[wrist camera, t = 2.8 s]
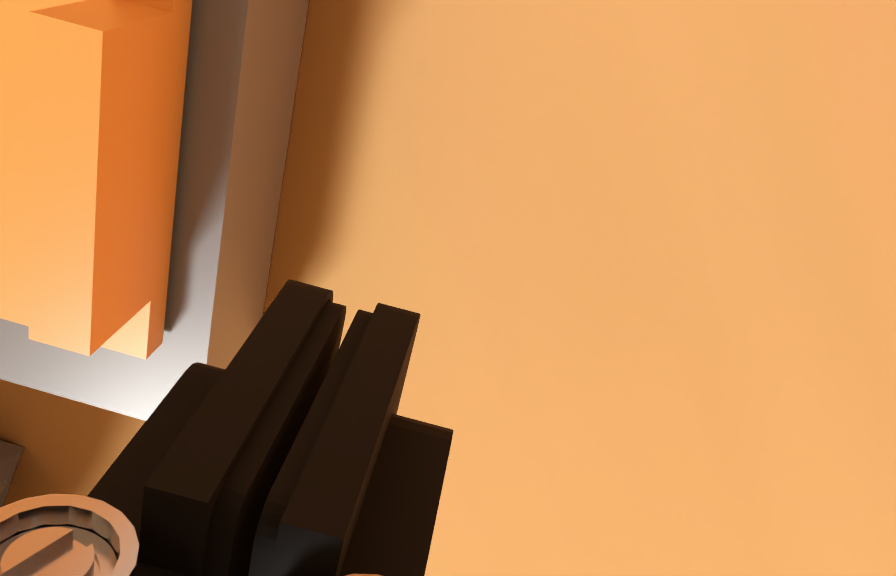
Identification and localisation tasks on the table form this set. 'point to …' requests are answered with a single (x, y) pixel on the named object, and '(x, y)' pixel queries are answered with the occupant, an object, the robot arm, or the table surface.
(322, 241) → the table surface
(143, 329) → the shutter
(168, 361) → the socket housing
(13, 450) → the electrical switch
